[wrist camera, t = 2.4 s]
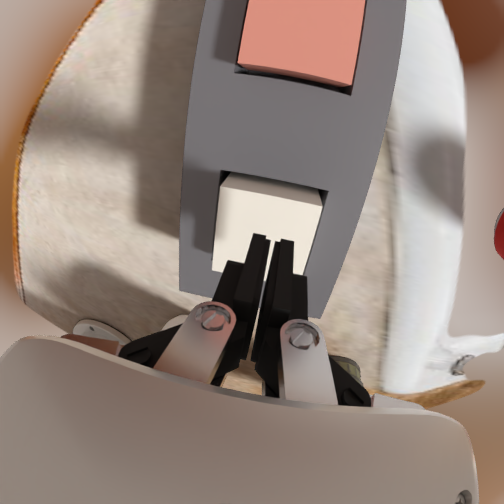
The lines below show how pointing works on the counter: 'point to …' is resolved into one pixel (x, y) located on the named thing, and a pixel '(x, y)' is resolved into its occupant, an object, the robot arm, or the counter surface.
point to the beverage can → (499, 234)
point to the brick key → (303, 39)
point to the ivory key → (264, 218)
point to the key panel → (283, 139)
